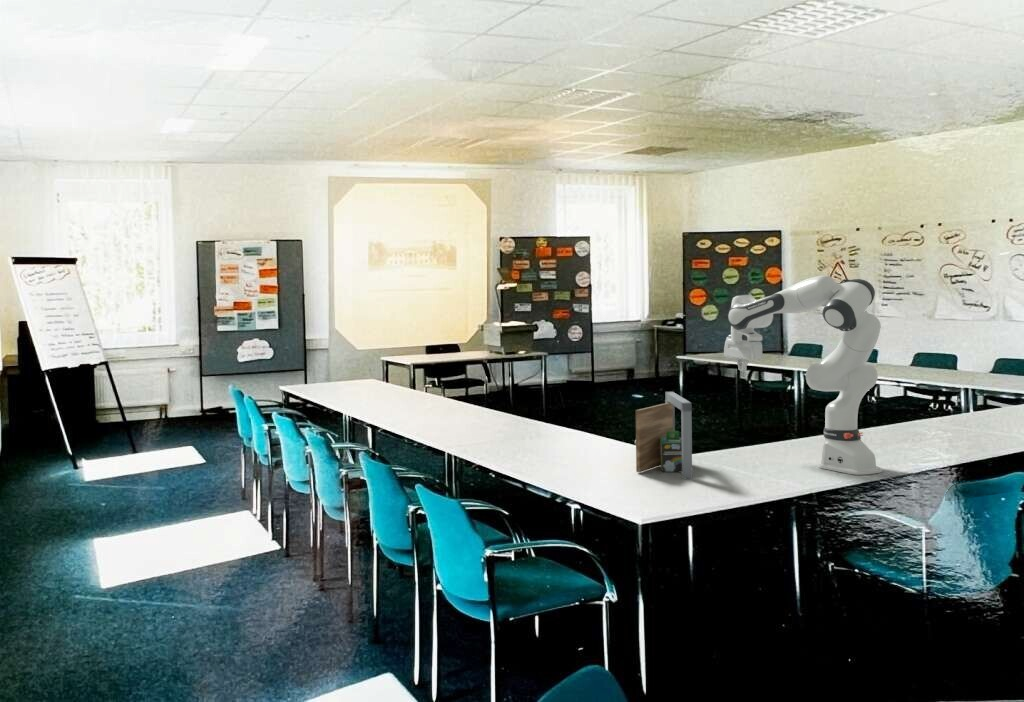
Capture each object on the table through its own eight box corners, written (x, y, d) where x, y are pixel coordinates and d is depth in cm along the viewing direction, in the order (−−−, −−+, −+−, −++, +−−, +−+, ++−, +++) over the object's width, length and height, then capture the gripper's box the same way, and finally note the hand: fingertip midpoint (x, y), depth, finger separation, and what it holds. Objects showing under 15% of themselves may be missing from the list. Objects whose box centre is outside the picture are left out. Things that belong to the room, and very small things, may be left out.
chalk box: (684, 467, 308) (684, 428, 307) (687, 472, 299) (686, 432, 298) (659, 467, 309) (659, 428, 308) (661, 472, 300) (661, 432, 299)
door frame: (673, 459, 321) (672, 391, 319) (692, 478, 289) (691, 402, 287) (666, 460, 321) (665, 391, 319) (683, 478, 289) (682, 403, 287)
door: (673, 461, 316) (672, 402, 314) (639, 472, 298) (639, 410, 296) (666, 460, 318) (665, 402, 316) (632, 471, 300) (631, 409, 298)
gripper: (720, 334, 331) (720, 368, 332) (751, 337, 312) (751, 373, 313) (733, 334, 333) (733, 367, 334) (765, 336, 314) (765, 372, 315)
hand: (742, 370), depth 323 cm, fingers closed
